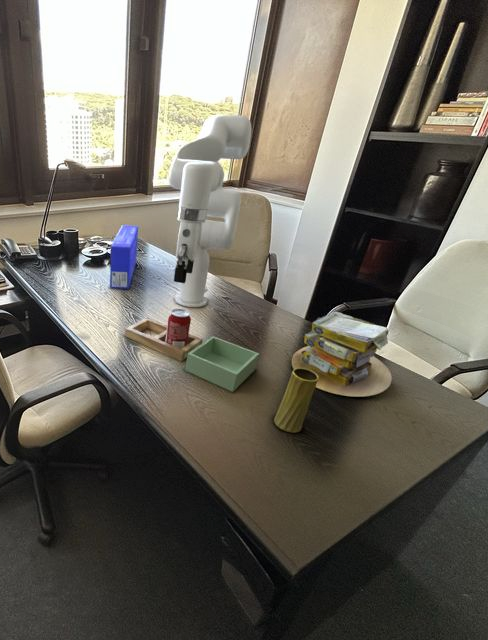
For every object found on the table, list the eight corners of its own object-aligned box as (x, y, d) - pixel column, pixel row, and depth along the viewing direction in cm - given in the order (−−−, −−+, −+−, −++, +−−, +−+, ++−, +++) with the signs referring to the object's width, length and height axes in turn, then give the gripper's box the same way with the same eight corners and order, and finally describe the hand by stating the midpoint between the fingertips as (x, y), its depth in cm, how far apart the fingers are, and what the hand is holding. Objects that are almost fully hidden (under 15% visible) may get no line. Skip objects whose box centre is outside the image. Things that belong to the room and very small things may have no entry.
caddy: (146, 325, 130) (146, 317, 128) (201, 347, 118) (202, 339, 116) (124, 336, 122) (125, 328, 120) (181, 361, 110) (182, 352, 108)
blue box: (120, 261, 191) (122, 224, 182) (136, 263, 191) (139, 226, 181) (108, 288, 158) (110, 245, 149) (128, 290, 157) (131, 246, 148)
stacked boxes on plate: (337, 406, 94) (362, 349, 86) (273, 356, 115) (289, 306, 106) (407, 391, 101) (437, 338, 93) (336, 347, 122) (355, 299, 113)
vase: (269, 415, 90) (285, 366, 83) (293, 415, 90) (311, 366, 83) (281, 433, 85) (299, 382, 77) (306, 432, 85) (327, 382, 78)
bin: (209, 351, 115) (212, 335, 113) (254, 370, 107) (259, 353, 105) (184, 370, 106) (187, 353, 103) (232, 392, 98) (237, 374, 95)
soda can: (185, 354, 114) (191, 318, 107) (163, 351, 115) (168, 315, 108) (186, 343, 119) (192, 309, 113) (165, 340, 120) (170, 306, 114)
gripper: (200, 221, 90) (190, 288, 98) (211, 211, 104) (201, 271, 113) (170, 218, 92) (162, 284, 101) (184, 208, 106) (176, 267, 115)
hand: (183, 277), depth 107 cm, fingers open, 9 cm apart
